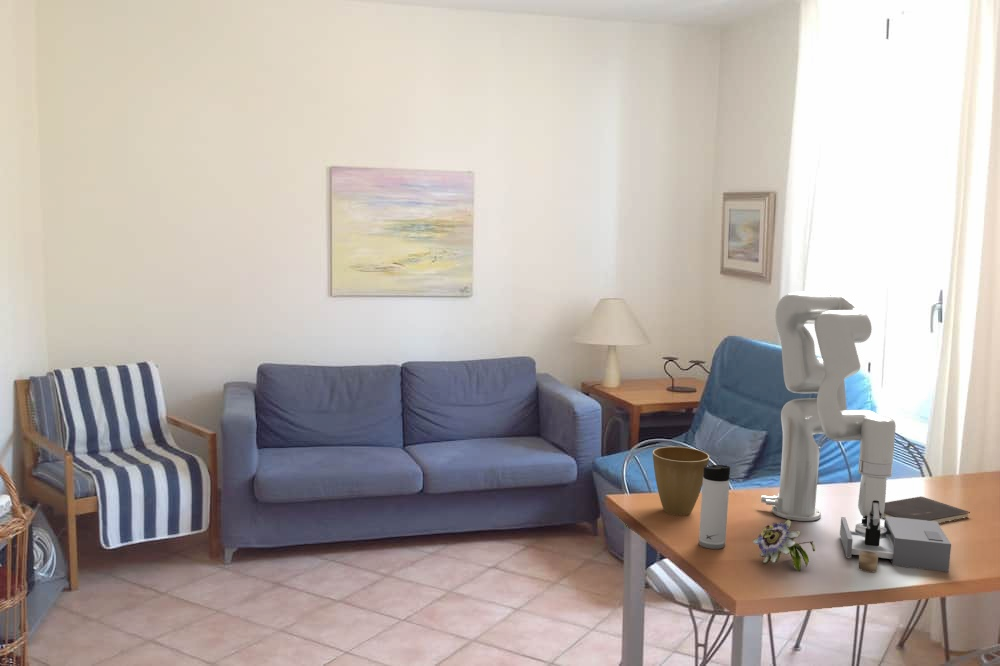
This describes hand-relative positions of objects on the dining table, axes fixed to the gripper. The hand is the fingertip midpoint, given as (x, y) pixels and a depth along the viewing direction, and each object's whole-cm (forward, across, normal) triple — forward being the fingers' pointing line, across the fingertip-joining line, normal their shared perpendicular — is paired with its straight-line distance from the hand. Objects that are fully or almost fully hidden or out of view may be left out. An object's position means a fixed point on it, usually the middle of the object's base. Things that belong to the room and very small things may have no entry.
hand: (869, 539), depth 232 cm
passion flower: (+3, +15, -21) cm, 26 cm away
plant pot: (+3, -15, -47) cm, 49 cm away
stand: (+3, +13, -2) cm, 13 cm away
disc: (-1, 0, 0) cm, 1 cm away
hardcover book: (+3, -36, +16) cm, 40 cm away
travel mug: (+3, +9, -37) cm, 38 cm away
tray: (+2, 0, 0) cm, 2 cm away
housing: (+3, 0, +10) cm, 11 cm away
